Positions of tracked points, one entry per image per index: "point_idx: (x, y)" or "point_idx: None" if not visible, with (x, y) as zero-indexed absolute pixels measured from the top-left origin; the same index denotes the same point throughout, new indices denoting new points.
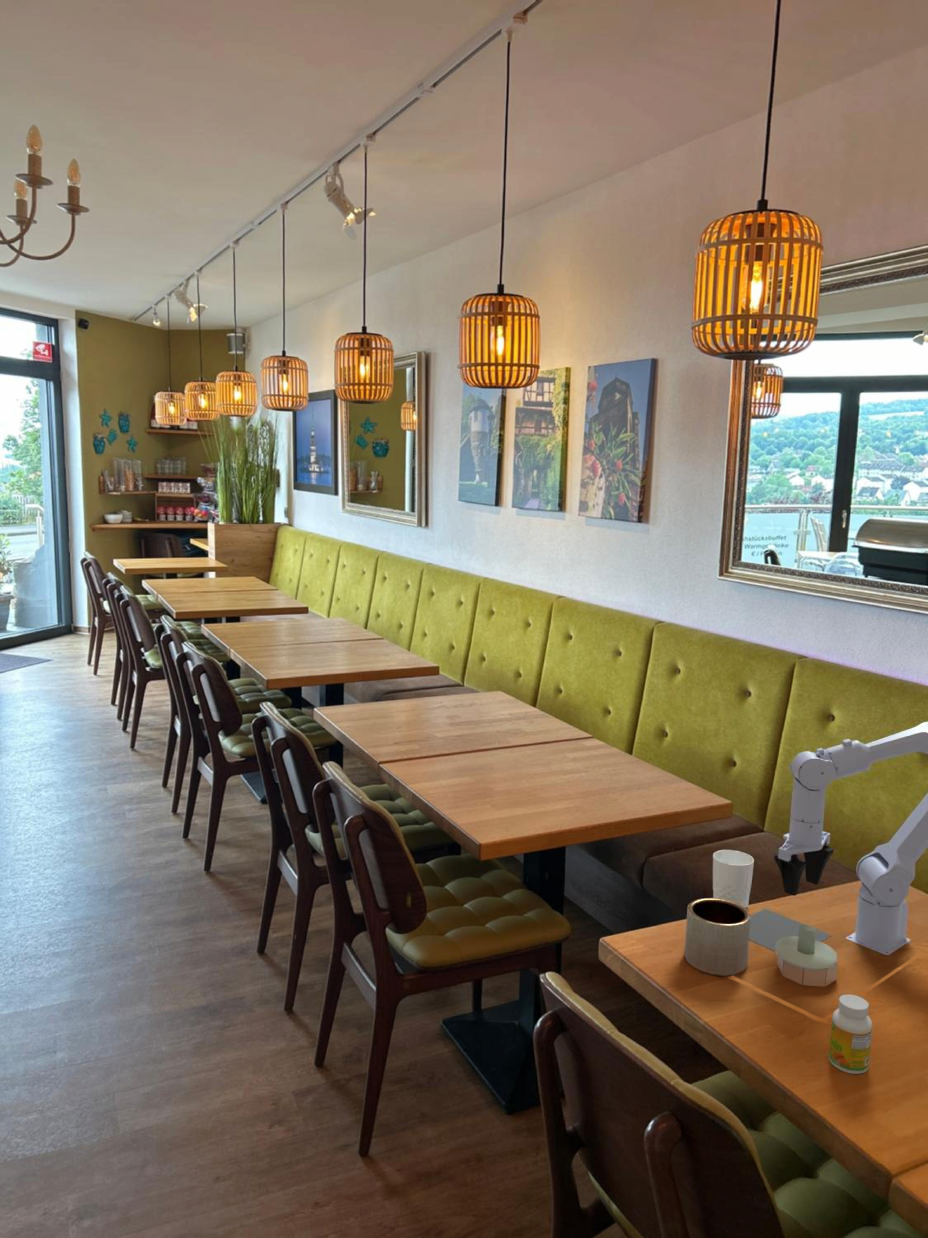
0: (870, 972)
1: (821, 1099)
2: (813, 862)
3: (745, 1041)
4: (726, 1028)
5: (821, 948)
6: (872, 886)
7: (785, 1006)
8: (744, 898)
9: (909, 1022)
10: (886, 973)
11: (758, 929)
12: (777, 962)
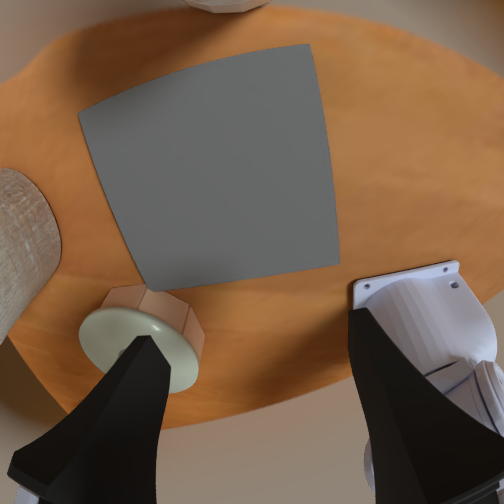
0: (276, 360)
1: (64, 403)
2: (380, 433)
3: (24, 351)
4: (11, 333)
5: (174, 369)
6: (365, 472)
7: (78, 348)
8: (226, 3)
9: (212, 415)
10: (298, 368)
11: (164, 149)
12: (105, 298)
